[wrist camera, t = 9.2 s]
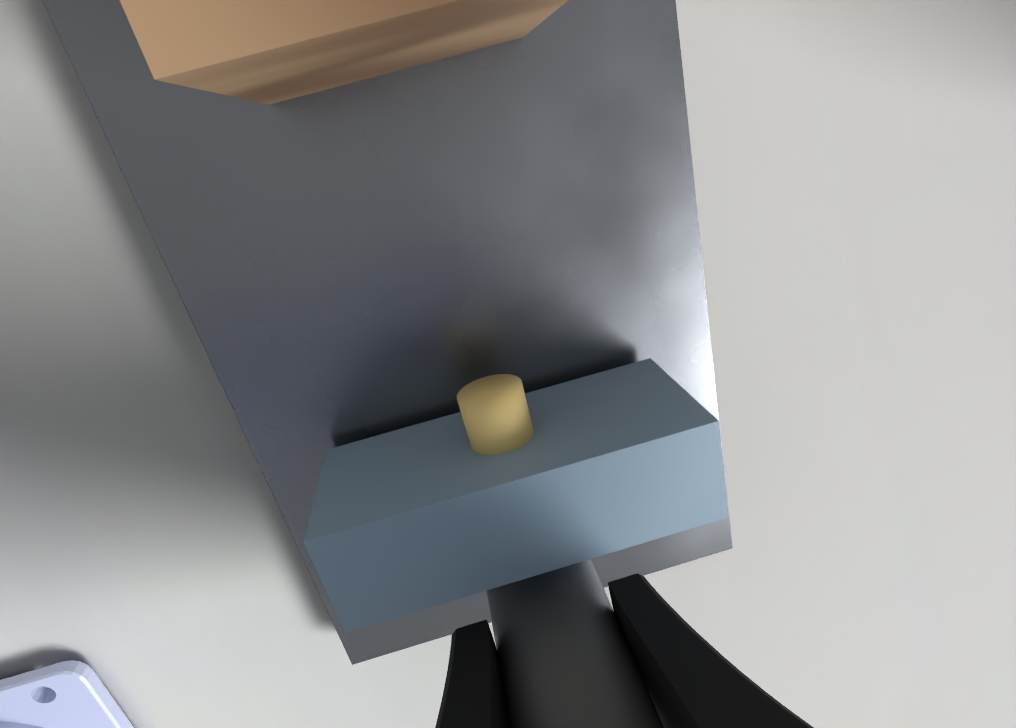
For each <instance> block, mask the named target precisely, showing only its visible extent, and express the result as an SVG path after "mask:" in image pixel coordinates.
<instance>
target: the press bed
mask: <svg viewBox="0 0 1016 728" xmlns="http://www.w3.org/2000/svg"><path fill="white" fill-rule="evenodd" d="M42 1H43V3H44V5H45V7H46V9H47V12H48V14H49V16H50V18H51V20H52V22H53V24H54V27H55V29H56V31H57V33H58V35H59V37H60V39H61V42H62V44H63V46H64V48H65V50H66V52H67V54H68V57H69V59H70V61H71V63H72V65H73V67H74V69H75V72H76V74H77V76H78V78H79V80H80V82H81V84H82V87H83V89H84V91H85V93H86V95H87V97H88V99H89V102H90V104H91V106H92V108H93V110H94V112H95V114H96V117H97V119H98V121H99V123H100V125H101V127H102V129H103V132H104V134H105V136H106V138H107V140H108V142H109V144H110V147H111V149H112V151H113V153H114V155H115V157H116V159H117V162H118V164H119V166H120V168H121V170H122V172H123V174H124V177H125V179H126V181H127V183H128V185H129V187H130V189H131V192H132V194H133V196H134V198H135V200H136V202H137V204H138V207H139V209H140V211H141V213H142V215H143V217H144V219H145V222H146V224H147V226H148V228H149V230H150V232H151V234H152V237H153V239H154V241H155V243H156V245H157V247H158V249H159V252H160V254H161V256H162V258H163V260H164V262H165V264H166V267H167V269H168V271H169V273H170V275H171V277H172V279H173V282H174V284H175V286H176V288H177V290H178V292H179V294H180V297H181V299H182V301H183V303H184V305H185V307H186V309H187V312H188V314H189V316H190V318H191V320H192V322H193V324H194V326H195V329H196V331H197V333H198V335H199V337H200V339H201V341H202V344H203V346H204V348H205V350H206V352H207V354H208V356H209V359H210V361H211V363H212V365H213V367H214V369H215V371H216V374H217V376H218V378H219V380H220V382H221V384H222V386H223V389H224V391H225V393H226V395H227V397H228V399H229V401H230V404H231V406H232V408H233V410H234V412H235V414H236V416H237V419H238V421H239V423H240V425H241V427H242V429H243V431H244V434H245V436H246V438H247V440H248V442H249V444H250V446H251V449H252V451H253V453H254V455H255V457H256V459H257V461H258V464H259V466H260V468H261V470H262V472H263V474H264V476H265V479H266V481H267V483H268V485H269V487H270V489H271V491H272V494H273V496H274V498H275V500H276V502H277V504H278V506H279V509H280V511H281V513H282V515H283V517H284V519H285V521H286V524H287V526H288V528H289V530H290V532H291V534H292V536H293V539H294V541H295V543H296V545H297V547H298V549H299V551H300V554H301V556H302V558H303V560H304V562H305V564H306V566H307V569H308V571H309V573H310V575H311V577H312V579H313V581H314V584H315V586H316V588H317V590H318V592H319V594H320V596H321V599H322V601H323V603H324V605H325V607H326V609H327V611H328V614H329V616H330V618H331V620H332V622H333V624H334V626H335V629H336V631H337V633H338V635H339V637H340V639H341V641H342V644H343V646H344V648H345V650H346V652H347V654H348V656H349V659H350V661H351V663H352V665H353V664H356V663H359V662H363V661H366V660H369V659H372V658H376V657H379V656H382V655H385V654H389V653H392V652H395V651H398V650H402V649H405V648H408V647H411V646H415V645H418V644H421V643H425V642H428V641H431V640H434V639H438V638H441V637H444V636H447V635H451V634H453V633H454V631H455V630H456V629H457V628H460V627H463V626H467V625H470V624H473V623H476V622H480V621H483V620H486V619H487V622H488V623H490V622H492V619H491V614H490V608H489V602H488V597H487V591H483V592H480V593H477V594H473V595H470V596H467V597H463V598H460V599H457V600H453V601H450V602H447V603H444V604H440V605H437V606H434V607H430V608H427V609H424V610H420V611H417V612H414V613H411V614H407V615H404V616H401V617H397V618H394V619H391V620H387V621H384V622H381V623H378V624H374V625H371V626H368V627H364V628H361V629H358V630H354V631H351V632H348V633H345V631H344V629H343V627H342V625H341V622H340V620H339V618H338V616H337V614H336V612H335V609H334V607H333V605H332V603H331V601H330V599H329V596H328V594H327V592H326V590H325V588H324V585H323V583H322V581H321V579H320V577H319V575H318V572H317V570H316V568H315V566H314V564H313V562H312V559H311V557H310V555H309V553H308V551H307V548H306V546H305V544H304V539H305V535H306V531H307V527H308V523H309V519H310V515H311V511H312V507H313V503H314V499H315V495H316V491H317V487H318V483H319V479H320V475H321V471H322V467H323V463H324V459H325V455H326V451H327V450H328V449H331V448H335V447H338V446H342V445H345V444H349V443H352V442H356V441H359V440H363V439H366V438H370V437H374V436H377V435H381V434H384V433H388V432H391V431H395V430H398V429H402V428H405V427H409V426H412V425H416V424H419V423H423V422H426V421H430V420H434V419H437V418H441V417H444V416H448V415H451V414H455V413H458V412H461V411H460V408H459V404H458V401H457V394H458V392H459V391H460V390H461V389H462V388H463V387H464V386H466V385H467V384H469V383H471V382H473V381H475V380H477V379H480V378H483V377H486V376H491V375H497V374H511V375H515V376H517V377H519V378H520V379H521V381H522V384H523V389H524V393H529V392H532V391H536V390H539V389H543V388H546V387H550V386H553V385H557V384H561V383H564V382H568V381H571V380H575V379H578V378H582V377H585V376H589V375H592V374H596V373H599V372H603V371H606V370H610V369H613V368H617V367H621V366H624V365H628V364H631V363H635V362H638V361H642V360H645V359H649V358H651V359H652V360H653V361H654V362H655V363H656V364H657V365H658V366H660V367H661V368H662V369H663V370H664V371H665V372H666V373H667V374H668V375H669V376H670V377H671V378H673V379H674V380H675V381H676V382H677V383H678V384H679V385H680V386H681V387H682V388H683V389H685V390H686V391H687V392H688V393H689V394H690V395H691V396H692V397H693V398H694V399H695V400H697V401H698V402H699V403H700V404H701V405H702V406H703V407H704V408H705V409H706V410H707V411H709V412H710V413H711V414H712V415H713V416H714V417H715V418H716V419H717V420H718V421H719V415H718V405H717V395H716V386H715V376H714V367H713V357H712V347H711V338H710V328H709V319H708V309H707V299H706V290H705V280H704V271H703V261H702V251H701V242H700V232H699V223H698V213H697V204H696V194H695V184H694V175H693V165H692V156H691V146H690V136H689V127H688V117H687V108H686V98H685V88H684V79H683V69H682V60H681V50H680V40H679V31H678V21H677V12H676V2H675V0H568V1H567V2H565V3H564V4H563V5H562V6H561V7H559V8H558V9H557V10H556V11H555V12H553V13H552V14H551V15H550V16H549V17H547V18H546V19H545V20H544V21H542V22H541V23H540V24H539V25H538V26H536V27H535V28H534V29H533V30H532V31H530V32H529V33H528V34H527V35H526V36H524V37H522V38H519V39H515V40H511V41H507V42H504V43H500V44H496V45H492V46H489V47H485V48H481V49H477V50H473V51H470V52H466V53H462V54H458V55H455V56H451V57H447V58H443V59H440V60H436V61H432V62H428V63H424V64H421V65H417V66H413V67H409V68H406V69H402V70H398V71H394V72H390V73H387V74H383V75H379V76H375V77H372V78H368V79H364V80H360V81H357V82H353V83H349V84H345V85H341V86H338V87H334V88H330V89H326V90H323V91H319V92H315V93H311V94H308V95H304V96H300V97H296V98H292V99H289V100H285V101H281V102H277V103H274V104H270V105H269V104H265V103H260V102H255V101H251V100H246V99H241V98H237V97H232V96H228V95H223V94H218V93H214V92H209V91H204V90H200V89H195V88H191V87H186V86H181V85H177V84H172V83H167V82H163V81H158V80H154V78H153V75H152V73H151V71H150V68H149V66H148V64H147V62H146V59H145V57H144V55H143V52H142V50H141V48H140V46H139V43H138V41H137V39H136V37H135V34H134V32H133V30H132V27H131V25H130V23H129V21H128V18H127V16H126V14H125V11H124V9H123V7H122V5H121V2H120V0H42ZM719 427H720V424H719ZM720 437H721V434H720ZM721 447H722V443H721ZM722 456H723V453H722ZM723 466H724V463H723ZM724 475H725V472H724ZM725 485H726V482H725ZM726 494H727V491H726ZM727 504H728V501H727ZM728 514H729V510H728ZM731 548H732V539H731V530H730V520H729V517H727V518H724V519H721V520H717V521H714V522H711V523H708V524H704V525H701V526H698V527H694V528H691V529H688V530H684V531H681V532H678V533H675V534H671V535H668V536H665V537H661V538H658V539H655V540H651V541H648V542H645V543H642V544H638V545H635V546H632V547H628V548H625V549H622V550H618V551H615V552H612V553H609V554H605V555H602V556H599V557H595V558H592V559H591V560H592V563H593V565H594V567H595V570H596V572H597V574H598V577H599V579H600V581H601V583H602V586H603V588H604V587H607V586H608V582H610V581H614V580H617V579H620V578H623V577H627V576H630V575H633V574H637V573H638V574H640V575H642V576H643V575H646V574H650V573H653V572H656V571H659V570H663V569H666V568H669V567H672V566H676V565H679V564H682V563H686V562H689V561H692V560H695V559H699V558H702V557H705V556H708V555H712V554H715V553H718V552H721V551H725V550H728V549H731Z"/></svg>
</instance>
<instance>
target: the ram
mask: <svg viewBox="0 0 1016 728" xmlns="http://www.w3.org/2000/svg"><path fill="white" fill-rule="evenodd" d="M457 401H458V404H459V408H460V411H461V412H458V413H455V414H451V415H448V416H444V417H441V418H437V419H434V420H430V421H426V422H423V423H419V424H416V425H412V426H409V427H405V428H402V429H398V430H395V431H391V432H388V433H384V434H381V435H377V436H374V437H370V438H366V439H363V440H359V441H356V442H352V443H349V444H345V445H342V446H338V447H335V448H331V449H328V450H327V451H326V455H325V459H324V463H323V467H322V471H321V475H320V479H319V483H318V487H317V491H316V495H315V499H314V503H313V507H312V511H311V515H310V519H309V523H308V527H307V531H306V535H305V539H304V544H305V546H306V548H307V551H308V553H309V555H310V557H311V559H312V562H313V564H314V566H315V568H316V570H317V572H318V575H319V577H320V579H321V581H322V583H323V585H324V588H325V590H326V592H327V594H328V596H329V599H330V601H331V603H332V605H333V607H334V609H335V612H336V614H337V616H338V618H339V620H340V622H341V625H342V627H343V629H344V631H345V633H348V632H351V631H354V630H358V629H361V628H364V627H368V626H371V625H374V624H378V623H381V622H384V621H387V620H391V619H394V618H397V617H401V616H404V615H407V614H411V613H414V612H417V611H420V610H424V609H427V608H430V607H434V606H437V605H440V604H444V603H447V602H450V601H453V600H457V599H460V598H463V597H467V596H470V595H473V594H477V593H480V592H483V591H487V597H488V602H489V608H490V614H491V619H492V625H493V631H494V637H495V642H496V648H497V653H498V659H499V664H500V670H501V676H502V682H503V687H504V693H505V699H506V705H507V711H508V716H509V722H510V728H664V726H663V724H662V722H661V719H660V717H659V715H658V712H657V710H656V708H655V705H654V703H653V701H652V699H651V696H650V694H649V692H648V689H647V687H646V685H645V682H644V680H643V678H642V676H641V673H640V671H639V669H638V666H637V664H636V662H635V660H634V657H633V655H632V653H631V651H630V648H629V646H628V644H627V641H626V639H625V637H624V634H623V632H622V630H621V628H620V625H619V623H618V621H617V618H616V616H615V614H614V611H613V609H612V606H611V604H610V602H609V600H608V597H607V595H606V593H605V590H604V588H603V586H602V583H601V581H600V579H599V577H598V574H597V572H596V570H595V567H594V565H593V563H592V560H591V559H592V558H595V557H599V556H602V555H605V554H609V553H612V552H615V551H618V550H622V549H625V548H628V547H632V546H635V545H638V544H642V543H645V542H648V541H651V540H655V539H658V538H661V537H665V536H668V535H671V534H675V533H678V532H681V531H684V530H688V529H691V528H694V527H698V526H701V525H704V524H708V523H711V522H714V521H717V520H721V519H724V518H727V517H729V514H728V504H727V494H726V485H725V475H724V466H723V456H722V447H721V437H720V427H719V421H718V420H717V419H716V418H715V417H714V416H713V415H712V414H711V413H710V412H709V411H707V410H706V409H705V408H704V407H703V406H702V405H701V404H700V403H699V402H698V401H697V400H695V399H694V398H693V397H692V396H691V395H690V394H689V393H688V392H687V391H686V390H685V389H683V388H682V387H681V386H680V385H679V384H678V383H677V382H676V381H675V380H674V379H673V378H671V377H670V376H669V375H668V374H667V373H666V372H665V371H664V370H663V369H662V368H661V367H660V366H658V365H657V364H656V363H655V362H654V361H653V360H652V359H651V358H649V359H645V360H642V361H638V362H635V363H631V364H628V365H624V366H621V367H617V368H613V369H610V370H606V371H603V372H599V373H596V374H592V375H589V376H585V377H582V378H578V379H575V380H571V381H568V382H564V383H561V384H557V385H553V386H550V387H546V388H543V389H539V390H536V391H532V392H529V393H524V389H523V384H522V381H521V379H520V378H519V377H517V376H515V375H511V374H497V375H491V376H486V377H483V378H480V379H477V380H475V381H473V382H471V383H469V384H467V385H466V386H464V387H463V388H462V389H461V390H460V391H459V392H458V394H457Z"/></svg>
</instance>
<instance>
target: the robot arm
mask: <svg viewBox="0 0 1016 728" xmlns="http://www.w3.org/2000/svg"><path fill="white" fill-rule="evenodd" d="M608 586H609V591H610V596H611V600H612V605H613V610H614V614H615V616H616V618H617V621H618V623H619V625H620V628H621V630H622V632H623V634H624V637H625V639H626V641H627V644H628V646H629V648H630V651H631V653H632V655H633V657H634V660H635V662H636V664H637V666H638V669H639V671H640V673H641V676H642V678H643V680H644V682H645V685H646V687H647V689H648V692H649V694H650V696H651V699H652V701H653V703H654V705H655V708H656V710H657V712H658V715H659V717H660V719H661V722H662V724H663V726H664V728H813V727H812V726H811V725H809V724H808V723H806V722H805V721H804V720H802V719H801V718H800V717H798V716H797V715H795V714H794V713H793V712H791V711H790V710H789V709H787V708H786V707H785V706H783V705H782V704H781V703H779V702H778V701H777V700H775V699H774V698H773V697H772V696H770V695H769V694H768V693H766V692H765V691H764V690H763V689H761V688H760V687H759V686H758V685H757V684H755V683H754V682H753V681H752V680H750V679H749V678H748V677H747V676H746V675H744V674H743V673H742V672H741V671H739V670H738V669H737V668H736V667H735V666H734V665H732V664H731V663H730V662H729V661H728V660H727V659H726V658H724V657H723V656H722V655H721V654H720V653H719V652H718V651H717V650H716V649H714V648H713V647H712V646H711V645H710V644H709V643H708V642H707V641H706V640H705V639H703V638H702V637H701V636H700V635H699V634H698V633H697V632H696V631H695V630H694V629H693V628H692V627H691V626H690V625H689V624H688V623H686V622H685V621H684V620H683V618H682V617H681V616H680V615H679V614H678V613H677V612H676V611H675V610H674V609H673V608H672V607H671V606H670V605H669V604H668V603H667V602H666V601H665V600H664V599H663V598H662V597H661V596H660V595H659V594H658V592H657V591H656V590H655V589H654V588H653V587H652V586H651V585H650V583H649V582H648V581H647V580H646V579H645V577H644V576H642V575H640V574H638V573H637V574H633V575H630V576H627V577H623V578H620V579H617V580H614V581H610V582H608ZM46 687H48V688H46ZM50 688H51V689H50ZM0 728H134V727H133V725H132V724H131V723H130V721H129V720H128V718H127V717H126V716H125V714H124V713H123V711H122V710H121V709H120V707H119V706H118V704H117V703H116V702H115V700H114V699H113V697H112V696H111V694H110V693H109V692H108V690H107V689H106V687H105V686H104V685H103V683H102V682H101V680H100V679H99V678H98V676H97V675H96V673H95V672H94V671H93V669H92V668H91V667H89V666H88V665H87V664H85V663H83V662H80V661H73V660H70V661H63V662H59V663H56V664H52V665H49V666H46V667H42V668H39V669H36V670H32V671H29V672H25V673H22V674H19V675H15V676H12V677H9V678H5V679H2V680H0ZM436 728H510V722H509V716H508V711H507V705H506V699H505V693H504V687H503V682H502V676H501V670H500V664H499V659H498V653H497V649H496V646H495V643H494V640H493V637H492V634H491V631H490V628H489V625H488V622H487V619H486V620H483V621H480V622H476V623H473V624H470V625H467V626H463V627H460V628H457V629H456V630H455V631H454V633H453V634H452V641H451V650H450V658H449V665H448V671H447V677H446V682H445V687H444V692H443V697H442V702H441V706H440V711H439V715H438V719H437V723H436Z"/></svg>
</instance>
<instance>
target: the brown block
mask: <svg viewBox="0 0 1016 728" xmlns="http://www.w3.org/2000/svg"><path fill="white" fill-rule="evenodd" d="M567 1H568V0H120V2H121V5H122V7H123V9H124V11H125V14H126V16H127V18H128V21H129V23H130V25H131V27H132V30H133V32H134V34H135V37H136V39H137V41H138V43H139V46H140V48H141V50H142V52H143V55H144V57H145V59H146V62H147V64H148V66H149V68H150V71H151V73H152V75H153V78H154V80H158V81H163V82H167V83H172V84H177V85H181V86H186V87H191V88H195V89H200V90H204V91H209V92H214V93H218V94H223V95H228V96H232V97H237V98H241V99H246V100H251V101H255V102H260V103H265V104H269V105H270V104H274V103H277V102H281V101H285V100H289V99H292V98H296V97H300V96H304V95H308V94H311V93H315V92H319V91H323V90H326V89H330V88H334V87H338V86H341V85H345V84H349V83H353V82H357V81H360V80H364V79H368V78H372V77H375V76H379V75H383V74H387V73H390V72H394V71H398V70H402V69H406V68H409V67H413V66H417V65H421V64H424V63H428V62H432V61H436V60H440V59H443V58H447V57H451V56H455V55H458V54H462V53H466V52H470V51H473V50H477V49H481V48H485V47H489V46H492V45H496V44H500V43H504V42H507V41H511V40H515V39H519V38H522V37H524V36H526V35H527V34H528V33H529V32H530V31H532V30H533V29H534V28H535V27H536V26H538V25H539V24H540V23H541V22H542V21H544V20H545V19H546V18H547V17H549V16H550V15H551V14H552V13H553V12H555V11H556V10H557V9H558V8H559V7H561V6H562V5H563V4H564V3H565V2H567Z"/></svg>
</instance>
